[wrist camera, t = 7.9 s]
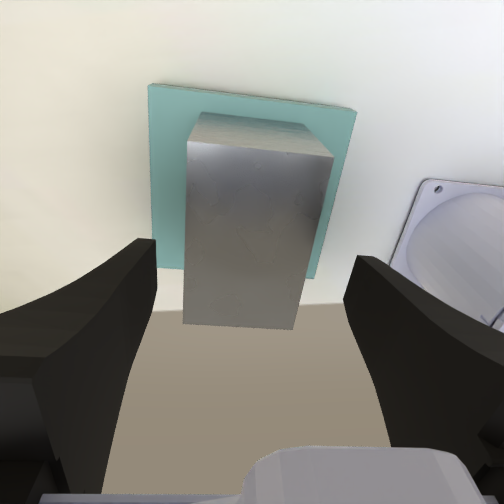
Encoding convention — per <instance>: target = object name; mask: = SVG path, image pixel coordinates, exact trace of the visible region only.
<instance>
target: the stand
mask: <svg viewBox="0 0 504 504" xmlns="http://www.w3.org/2000/svg"><path fill="white" fill-rule="evenodd" d="M201 111H202V112H210V113H219V114H227V115H235V116H244V117H252V118H260V119H269V120H277V121H285V122H294V123H302V124H304V125H305V126H306V127H307V128H308V129H309V130H310V131H311V132H312V133H313V134H314V136H315V137H316V138H317V139H318V140H319V141H320V142H321V143H322V144H323V145H324V146H325V147H326V149H327V150H328V151H329V152H330V153H331V154H332V155H333V156H334V157H335V158H334V162H333V166H332V170H331V174H330V179H329V183H328V187H327V191H326V195H325V199H324V203H323V207H322V211H321V216H320V220H319V224H318V228H317V232H316V236H315V240H314V244H313V248H312V252H311V257H310V261H309V265H308V269H307V273H306V277H305V278H308V279H314V276H315V272H316V269H317V265H318V261H319V257H320V253H321V249H322V246H323V242H324V238H325V234H326V230H327V226H328V222H329V219H330V215H331V211H332V207H333V203H334V199H335V196H336V192H337V188H338V184H339V180H340V176H341V172H342V169H343V165H344V161H345V157H346V153H347V149H348V146H349V142H350V138H351V134H352V130H353V126H354V123H355V119H356V115H357V112H356V111H354V110H352V109H350V108H343V107H335V106H328V105H320V104H312V103H304V102H296V101H288V100H280V99H272V98H265V97H257V96H249V95H241V94H233V93H225V92H217V91H210V90H202V89H194V88H186V87H178V86H170V85H162V84H154V83H152V84H150V85H148V112H149V145H150V178H151V211H152V239H155V240H156V258H157V268H169V269H183V270H184V251H185V209H186V168H187V140H188V138H189V136H190V134H191V132H192V130H193V128H194V126H195V124H196V122H197V119H198V117H199V115H200V113H201Z"/></svg>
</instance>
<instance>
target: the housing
mask: <svg viewBox="0 0 504 504" xmlns="http://www.w3.org/2000/svg"><path fill="white" fill-rule="evenodd" d="M334 158H335V157H334V156H333V155H332V154H331V153H330V152H329V151H328V150H327V149H326V147H325V146H324V145H323V144H322V143H321V142H320V141H319V140H318V139H317V138H316V137H315V136H314V134H313V133H312V132H311V131H310V130H309V129H308V128H307V127H306V126H305V125H304V124H302V123H294V122H285V121H277V120H269V119H260V118H252V117H244V116H235V115H227V114H219V113H210V112H202V111H201V113H200V115H199V117H198V119H197V122H196V124H195V126H194V128H193V130H192V132H191V134H190V136H189V138H188V140H187V168H186V209H185V251H184V292H183V324H195V325H213V326H232V327H251V328H266V329H284V330H285V329H286V330H293V326H294V322H295V317H296V314H297V309H298V306H299V302H300V298H301V293H302V289H303V285H304V281H305V277H306V273H307V269H308V265H309V261H310V257H311V252H312V248H313V244H314V240H315V236H316V232H317V228H318V224H319V220H320V216H321V211H322V207H323V203H324V199H325V195H326V191H327V187H328V183H329V179H330V174H331V170H332V166H333V162H334Z"/></svg>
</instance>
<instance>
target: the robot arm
mask: <svg viewBox="0 0 504 504" xmlns="http://www.w3.org/2000/svg"><path fill="white" fill-rule="evenodd" d="M437 186H440V187H439V189H438V190H437V191H434V189H435V188H436V187H437ZM424 289H425V290H426V291H425V290H424ZM156 291H157V258H156V240H155V239H142V238H137V239H136V240H134V241H133V242H132V243H130V244H129V245H128V246H126V247H125V248H124V249H122V250H121V251H120V252H118V253H117V254H115V255H114V256H113V257H111V258H110V259H108V260H107V261H106V262H104V263H103V264H101V265H100V266H98V267H97V268H95V269H93V270H92V271H90V272H89V273H87V274H86V275H84V276H82V277H81V278H79V279H77V280H76V281H74V282H72V283H70V284H68V285H66V286H64V287H62V288H60V289H58V290H57V291H55V292H53V293H50V294H48V295H46V296H44V297H41V298H39V299H37V300H34V301H32V302H29V303H27V304H25V305H22V306H20V307H17V308H15V309H12V310H9V311H6V312H4V313H1V314H0V504H504V187H499V186H490V185H481V184H471V183H462V182H453V181H443V180H434V179H428V180H426V181H424V182H423V183H422V185H421V187H420V189H419V192H418V194H417V197H416V200H415V202H414V205H413V207H412V210H411V212H410V215H409V218H408V220H407V223H406V225H405V228H404V230H403V233H402V236H401V238H400V241H399V243H398V246H397V248H396V251H395V254H394V256H393V259H392V261H391V264H390V266H388V265H387V264H385V263H384V262H382V261H381V260H379V259H377V258H375V257H373V256H361V255H357V257H356V260H355V264H354V267H353V270H352V273H351V276H350V279H349V282H348V285H347V289H346V292H345V295H344V298H343V302H344V306H345V310H346V314H347V318H348V322H349V325H350V327H351V330H352V332H353V335H354V337H355V339H356V342H357V344H358V347H359V349H360V351H361V354H362V356H363V358H364V361H365V363H366V365H367V368H368V370H369V373H370V375H371V378H372V380H373V383H374V386H375V389H376V393H377V396H378V399H379V403H380V406H381V410H382V413H383V416H384V421H385V424H386V428H387V432H388V436H389V440H390V444H391V447H345V446H302V447H294V448H287V449H280V450H278V451H276V452H274V453H272V454H269V455H267V456H265V457H263V458H261V459H259V460H258V461H257V462H256V463H255V464H254V466H253V467H252V468H251V470H250V471H249V473H248V474H247V475H246V477H245V478H244V481H243V487H242V491H241V495H222V494H220V495H219V494H213V495H212V494H205V495H204V494H101V492H102V487H103V482H104V477H105V472H106V468H107V463H108V458H109V454H110V449H111V445H112V441H113V437H114V432H115V428H116V424H117V420H118V415H119V411H120V407H121V403H122V399H123V395H124V392H125V388H126V383H127V380H128V376H129V373H130V370H131V367H132V364H133V361H134V359H135V356H136V353H137V350H138V348H139V345H140V343H141V340H142V337H143V335H144V332H145V329H146V326H147V324H148V321H149V318H150V316H151V313H152V309H153V305H154V301H155V296H156Z"/></svg>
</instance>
